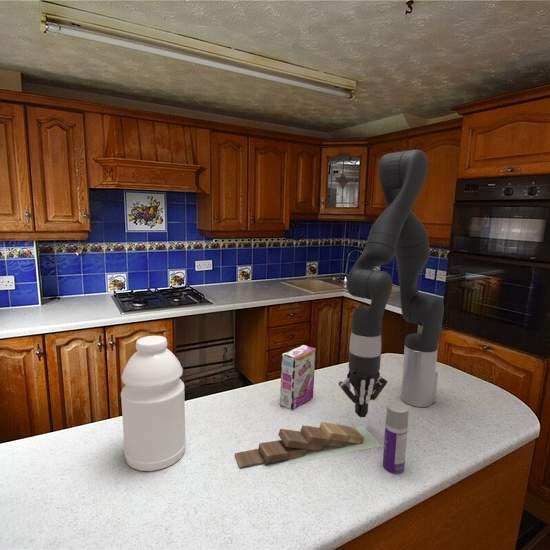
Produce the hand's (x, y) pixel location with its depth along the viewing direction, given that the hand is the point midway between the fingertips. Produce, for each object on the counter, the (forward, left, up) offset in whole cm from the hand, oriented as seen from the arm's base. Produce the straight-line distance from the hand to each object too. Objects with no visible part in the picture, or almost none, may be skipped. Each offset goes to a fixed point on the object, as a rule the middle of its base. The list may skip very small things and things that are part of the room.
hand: (361, 415), depth 94 cm
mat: (+8, 0, -6) cm, 11 cm away
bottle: (+50, -9, -7) cm, 51 cm away
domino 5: (+1, 0, -5) cm, 5 cm away
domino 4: (+6, 0, -5) cm, 8 cm away
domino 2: (+16, 0, -5) cm, 17 cm away
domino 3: (+12, 0, -5) cm, 13 cm away
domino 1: (+22, 0, -6) cm, 23 cm away
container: (-2, +12, -7) cm, 14 cm away
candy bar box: (+8, -22, -7) cm, 25 cm away
